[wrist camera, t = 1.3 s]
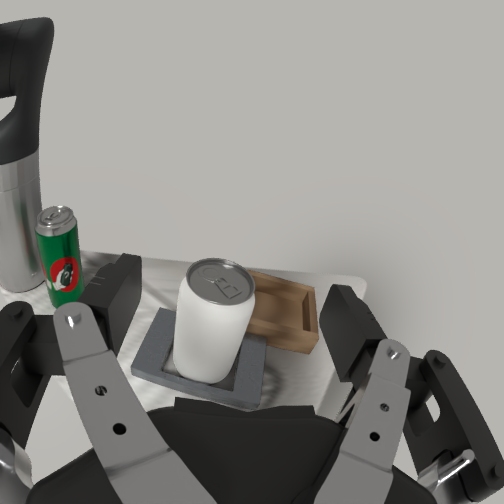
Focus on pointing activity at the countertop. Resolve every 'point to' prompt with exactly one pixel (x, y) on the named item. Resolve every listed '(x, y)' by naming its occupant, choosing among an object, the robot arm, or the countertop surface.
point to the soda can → (60, 254)
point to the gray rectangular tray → (242, 393)
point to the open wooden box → (284, 313)
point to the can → (211, 319)
